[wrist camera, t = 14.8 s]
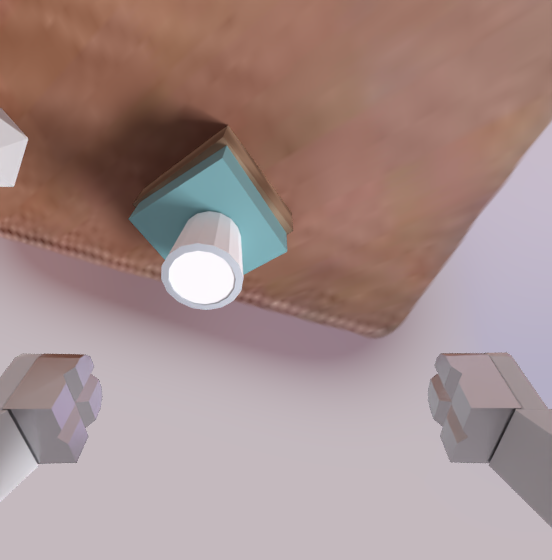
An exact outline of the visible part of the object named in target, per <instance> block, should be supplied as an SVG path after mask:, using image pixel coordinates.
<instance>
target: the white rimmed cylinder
mask: <svg viewBox="0 0 552 560" xmlns="http://www.w3.org/2000/svg"><path fill="white" fill-rule="evenodd" d="M161 280H162V282H163V284H164V286H165V288H166V290H167V292H168V293H169V294H170V295H171V296H173V297H174V298H175V299H176V300H177V301H178V302H180V303H182V304H184V305H187V306H189V307H191V308H196V309H204V310H209V309H215V308H220V307H223V306H225V305H227V304H228V303H230V302H232V301H234V299H235V298H236V297H237V295H238V294H239V293H240V291H241V289H242V283H243V264H242V247H241V235H240V232H239V229H238V227H237V225H236V224H235V223H234V222H233V221H232V219H231V218H229V217H227V216H225V215H223V214H221V213H218V212H211V211H207V212H202V213H197V214H196V215H194V216H193V217H192V218H190V219H189V220H188V221H187V223H186V225H185V227H184V228H183V230H182V232H181V234H180V235H179V237H178V239H177V240H176V242H175V244H174V246H173V247H172V249H171V251H170V253H169V254H168V256H167V258H166V260H165V261H164V263H163V265H162V274H161Z"/></svg>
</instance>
